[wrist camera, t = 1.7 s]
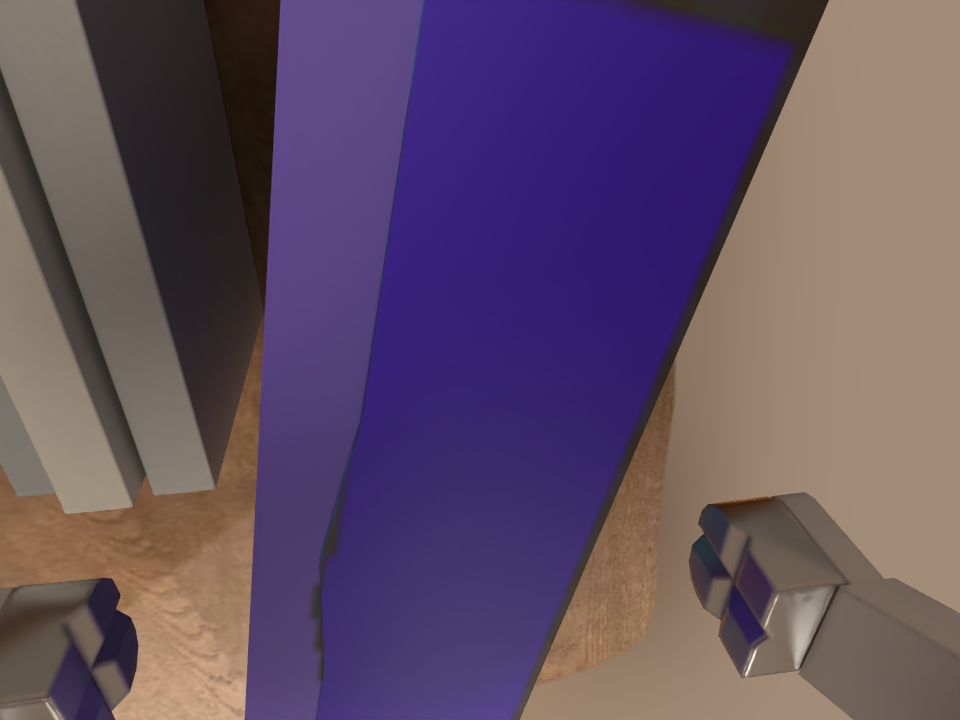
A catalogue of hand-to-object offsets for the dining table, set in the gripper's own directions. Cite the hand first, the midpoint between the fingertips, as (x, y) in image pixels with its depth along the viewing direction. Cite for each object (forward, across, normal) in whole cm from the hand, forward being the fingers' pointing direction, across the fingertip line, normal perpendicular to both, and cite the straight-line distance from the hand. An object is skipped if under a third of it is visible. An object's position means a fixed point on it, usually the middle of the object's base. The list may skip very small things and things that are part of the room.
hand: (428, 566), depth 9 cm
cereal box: (+24, 0, 0) cm, 24 cm away
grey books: (+24, +10, 0) cm, 26 cm away
